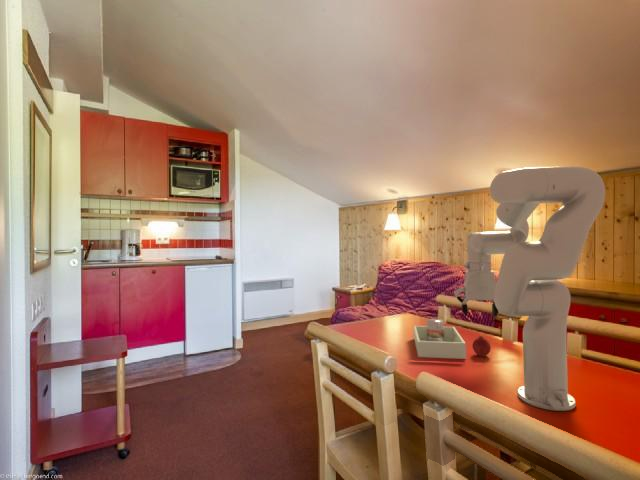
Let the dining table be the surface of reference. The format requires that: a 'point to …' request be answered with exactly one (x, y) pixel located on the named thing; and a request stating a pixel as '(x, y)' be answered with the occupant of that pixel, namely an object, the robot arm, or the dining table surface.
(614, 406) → the dining table surface
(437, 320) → the glass jar
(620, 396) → the dining table surface
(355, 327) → the dining table surface
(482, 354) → the onion
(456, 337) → the tote
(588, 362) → the dining table surface
